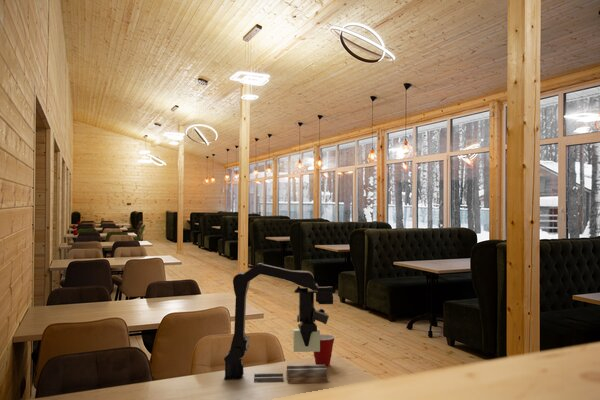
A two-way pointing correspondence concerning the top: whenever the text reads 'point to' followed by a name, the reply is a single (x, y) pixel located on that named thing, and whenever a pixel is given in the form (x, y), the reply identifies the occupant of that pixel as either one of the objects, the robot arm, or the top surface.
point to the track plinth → (306, 373)
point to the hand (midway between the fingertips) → (306, 345)
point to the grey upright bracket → (268, 377)
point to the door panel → (299, 343)
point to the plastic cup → (324, 350)
